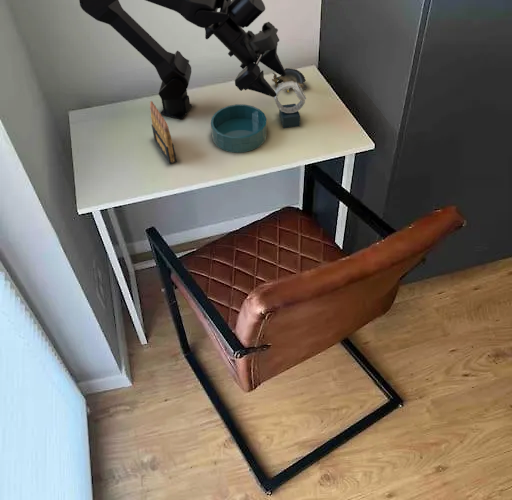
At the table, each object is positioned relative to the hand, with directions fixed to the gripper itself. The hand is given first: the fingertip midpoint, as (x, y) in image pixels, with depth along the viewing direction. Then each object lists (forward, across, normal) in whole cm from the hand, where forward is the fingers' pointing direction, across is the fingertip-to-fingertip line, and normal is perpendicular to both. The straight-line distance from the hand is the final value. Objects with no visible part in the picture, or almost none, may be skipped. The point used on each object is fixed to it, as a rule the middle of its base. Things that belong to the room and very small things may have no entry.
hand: (280, 85), depth 143 cm
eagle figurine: (+6, +14, +8) cm, 18 cm away
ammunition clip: (-10, -20, +24) cm, 33 cm away
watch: (+9, 0, +6) cm, 11 cm away
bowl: (+1, -9, +13) cm, 16 cm away
